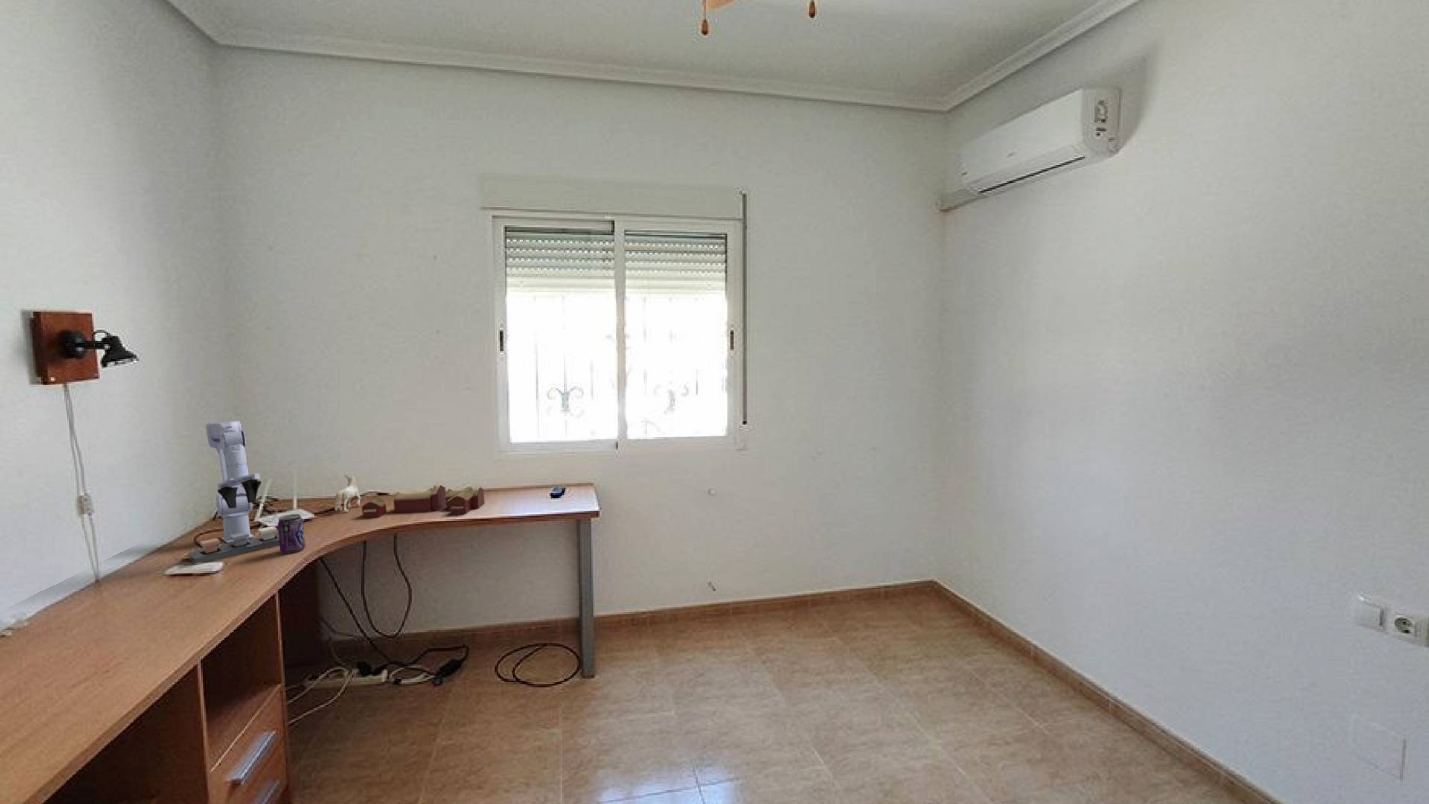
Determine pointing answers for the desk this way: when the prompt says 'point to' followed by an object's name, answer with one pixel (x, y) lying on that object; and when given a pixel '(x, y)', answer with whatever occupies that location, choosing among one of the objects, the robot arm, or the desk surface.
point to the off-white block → (267, 532)
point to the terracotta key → (210, 545)
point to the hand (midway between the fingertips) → (242, 505)
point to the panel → (234, 549)
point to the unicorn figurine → (347, 494)
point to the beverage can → (291, 533)
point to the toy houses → (428, 502)
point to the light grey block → (239, 538)
